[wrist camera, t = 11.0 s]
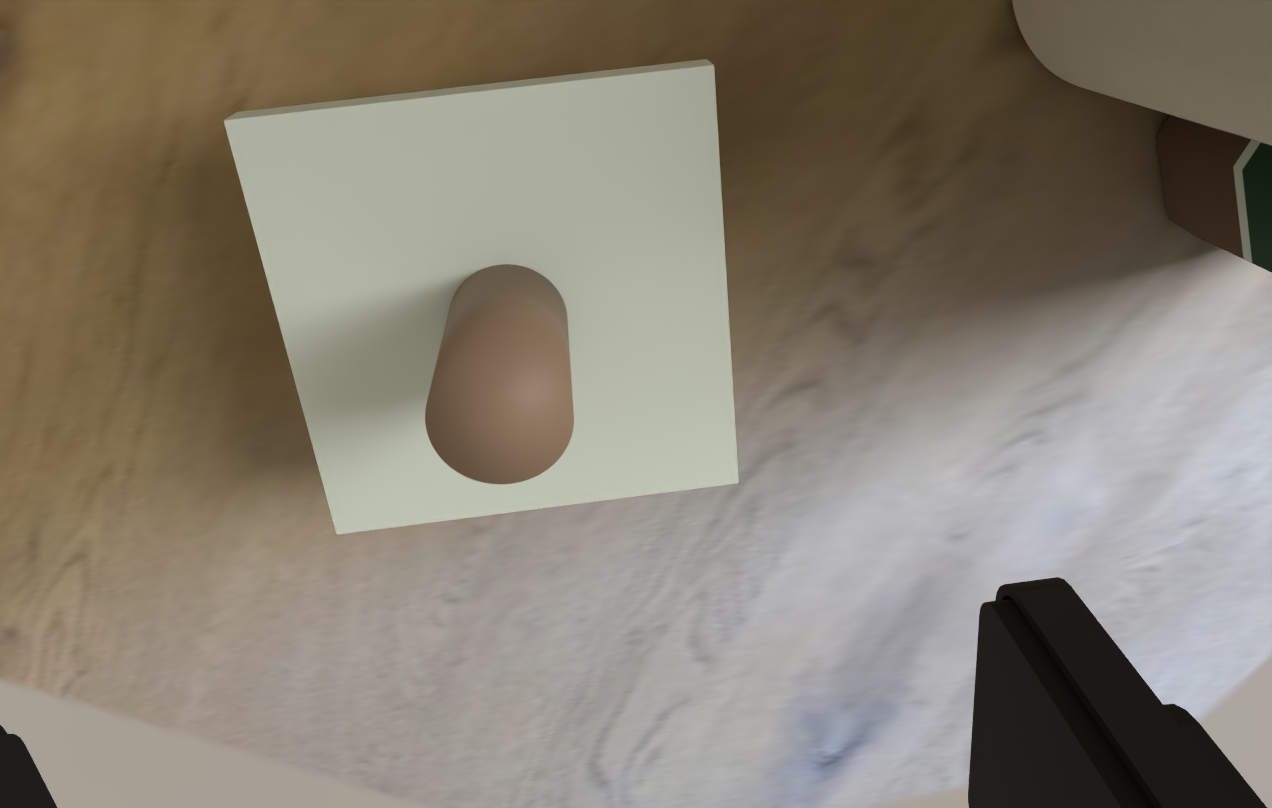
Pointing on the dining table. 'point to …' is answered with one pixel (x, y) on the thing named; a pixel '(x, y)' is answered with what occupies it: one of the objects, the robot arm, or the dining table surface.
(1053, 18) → the travel mug
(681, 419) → the lid
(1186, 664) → the dining table surface
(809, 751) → the dining table surface
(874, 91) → the dining table surface
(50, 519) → the dining table surface
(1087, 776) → the robot arm
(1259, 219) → the beer bottle
